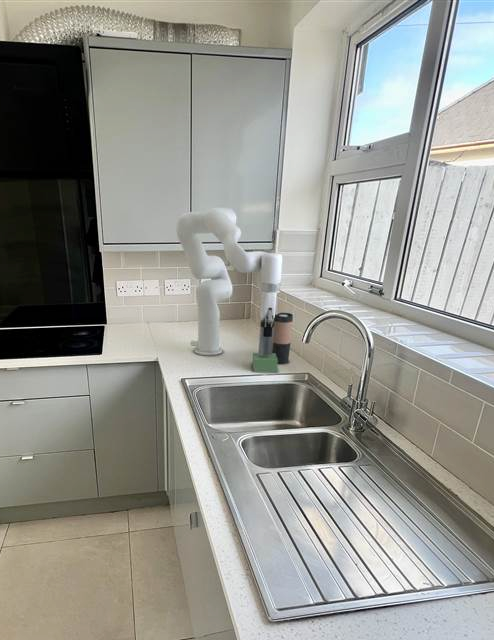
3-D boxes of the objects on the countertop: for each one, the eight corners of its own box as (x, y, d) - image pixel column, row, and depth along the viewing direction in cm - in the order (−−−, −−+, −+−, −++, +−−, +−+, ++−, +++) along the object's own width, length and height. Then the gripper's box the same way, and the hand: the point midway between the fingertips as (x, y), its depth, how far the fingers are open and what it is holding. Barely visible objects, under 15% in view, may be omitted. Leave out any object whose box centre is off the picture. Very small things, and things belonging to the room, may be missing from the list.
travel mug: (288, 364, 167) (293, 317, 160) (270, 363, 169) (273, 316, 161) (288, 358, 174) (292, 312, 167) (270, 357, 176) (274, 312, 168)
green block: (253, 371, 160) (254, 359, 158) (252, 364, 168) (253, 352, 166) (276, 372, 159) (277, 360, 157) (274, 364, 167) (275, 353, 166)
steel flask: (256, 354, 160) (258, 322, 155) (260, 350, 165) (262, 319, 160) (270, 356, 158) (272, 323, 153) (273, 352, 163) (276, 320, 158)
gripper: (258, 284, 160) (255, 328, 167) (261, 291, 144) (258, 340, 151) (277, 284, 159) (274, 329, 166) (283, 291, 143) (278, 340, 150)
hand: (266, 334), depth 158 cm, fingers closed on steel flask, 5 cm apart
